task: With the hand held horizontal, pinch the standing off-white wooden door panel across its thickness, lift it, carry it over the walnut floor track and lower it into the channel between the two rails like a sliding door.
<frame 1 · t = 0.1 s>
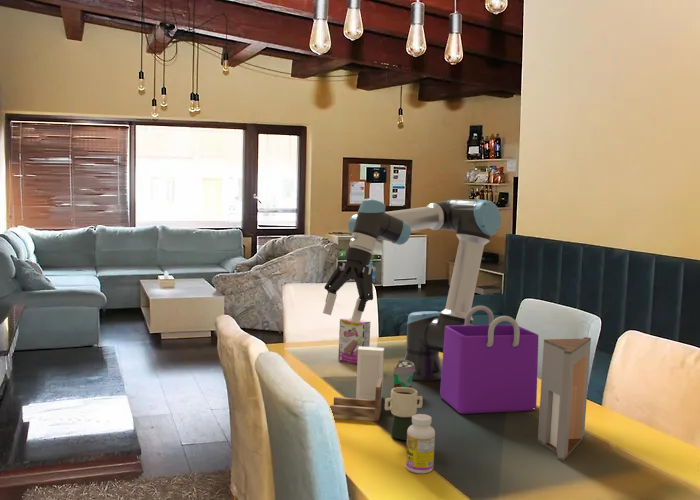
hand: (340, 318, 207), 28 cm above the table, tool tilted 20°, fingers open, 13 cm apart
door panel: (369, 398, 222), on the table
track: (353, 414, 206), on the table
supplement bottle: (419, 469, 168), on the table
character mug: (402, 438, 188), on the table
candy bar box: (353, 362, 266), on the table
cabinet: (555, 445, 187), on the table
food container: (404, 394, 228), on the table
shopping bag: (486, 405, 220), on the table
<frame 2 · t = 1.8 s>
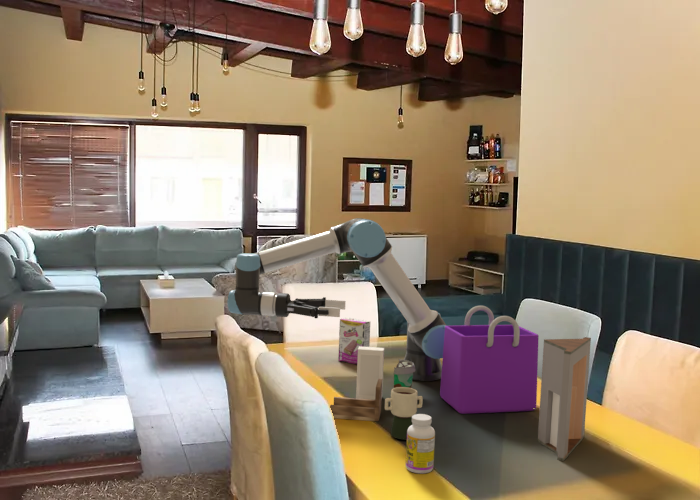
hand: (342, 308, 220), 28 cm above the table, tool horizontal, fingers open, 13 cm apart
nothing on the table moved.
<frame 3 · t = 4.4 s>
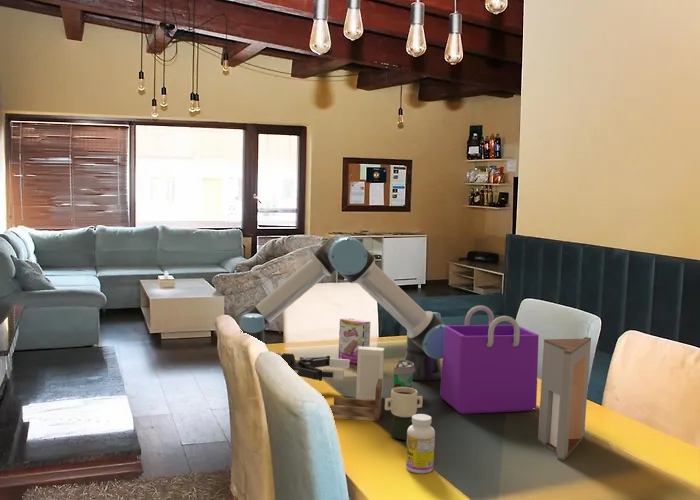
hand: (346, 369, 222), 9 cm above the table, tool horizontal, fingers open, 13 cm apart
nothing on the table moved.
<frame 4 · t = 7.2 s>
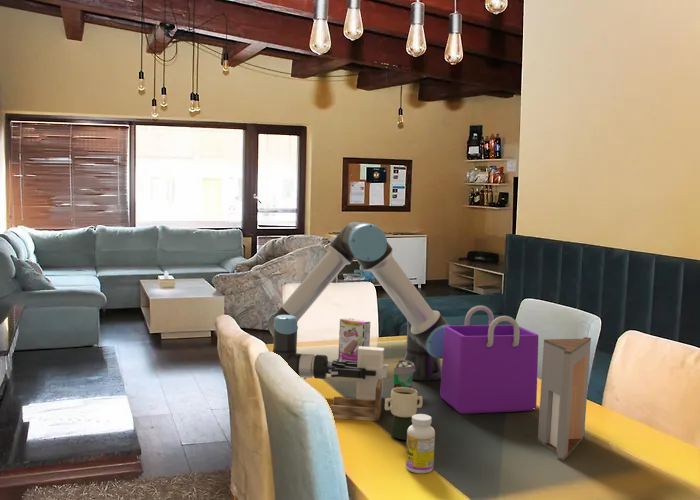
hand: (387, 371, 221), 9 cm above the table, tool horizontal, fingers closed on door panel, 4 cm apart
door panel: (369, 397, 222), on the table, touching gripper
everything else where it was.
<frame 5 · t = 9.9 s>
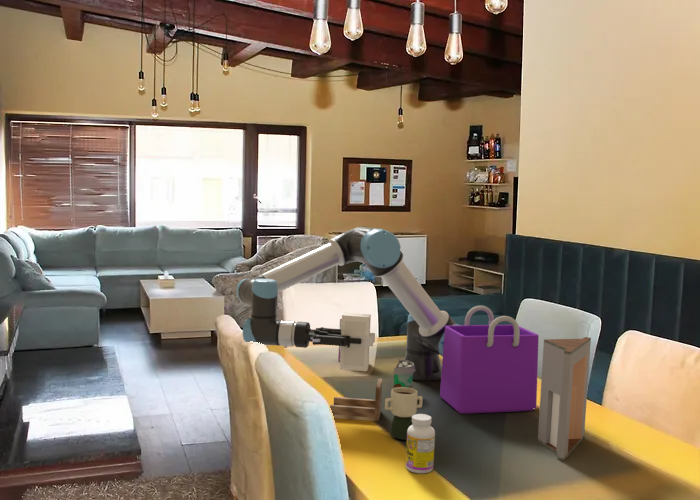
hand: (373, 339, 204), 22 cm above the table, tool horizontal, fingers closed on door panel, 4 cm apart
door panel: (354, 368, 205), point 13 cm above the table, touching gripper
everything else where it was.
when the fingers open (11 cm above the table, at t = 12.8 s): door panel drops 1 cm, resting on track.
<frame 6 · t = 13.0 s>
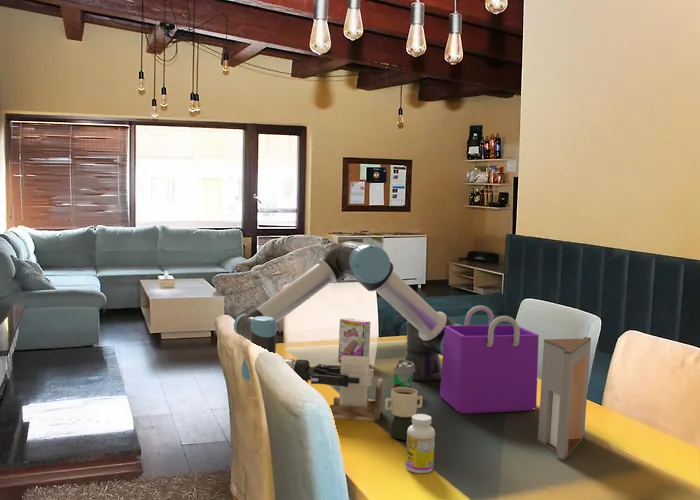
hand: (372, 377, 204), 11 cm above the table, tool horizontal, fingers open, 7 cm apart
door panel: (353, 411, 205), point 1 cm above the table, touching track
everything else where it was.
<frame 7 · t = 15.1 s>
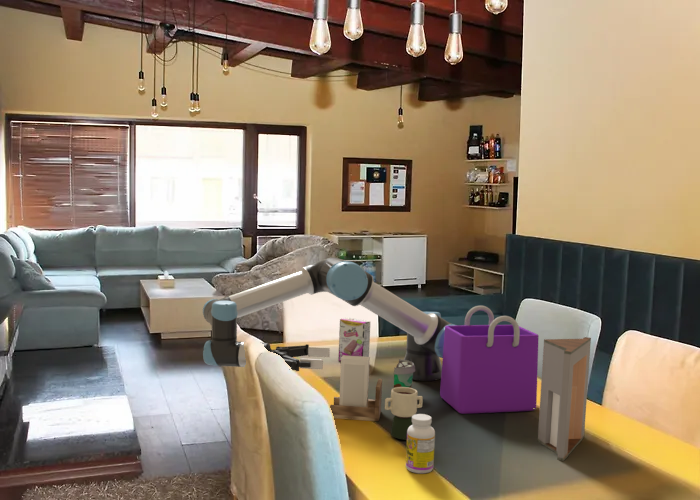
hand: (326, 358, 206), 16 cm above the table, tool horizontal, fingers open, 13 cm apart
nothing on the table moved.
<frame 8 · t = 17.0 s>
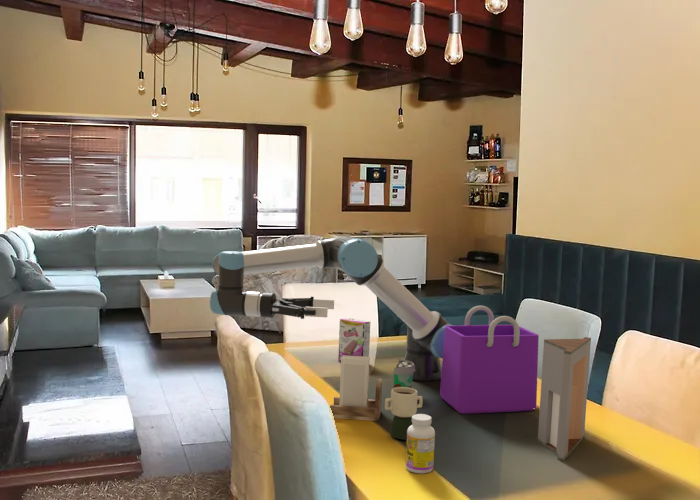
hand: (330, 308, 210), 30 cm above the table, tool horizontal, fingers open, 13 cm apart
nothing on the table moved.
at the end: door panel inside the target area on the track (0.1 cm from its centre), point 1.0 cm above the track's base; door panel tilted 0°; the gripper is holding nothing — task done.
